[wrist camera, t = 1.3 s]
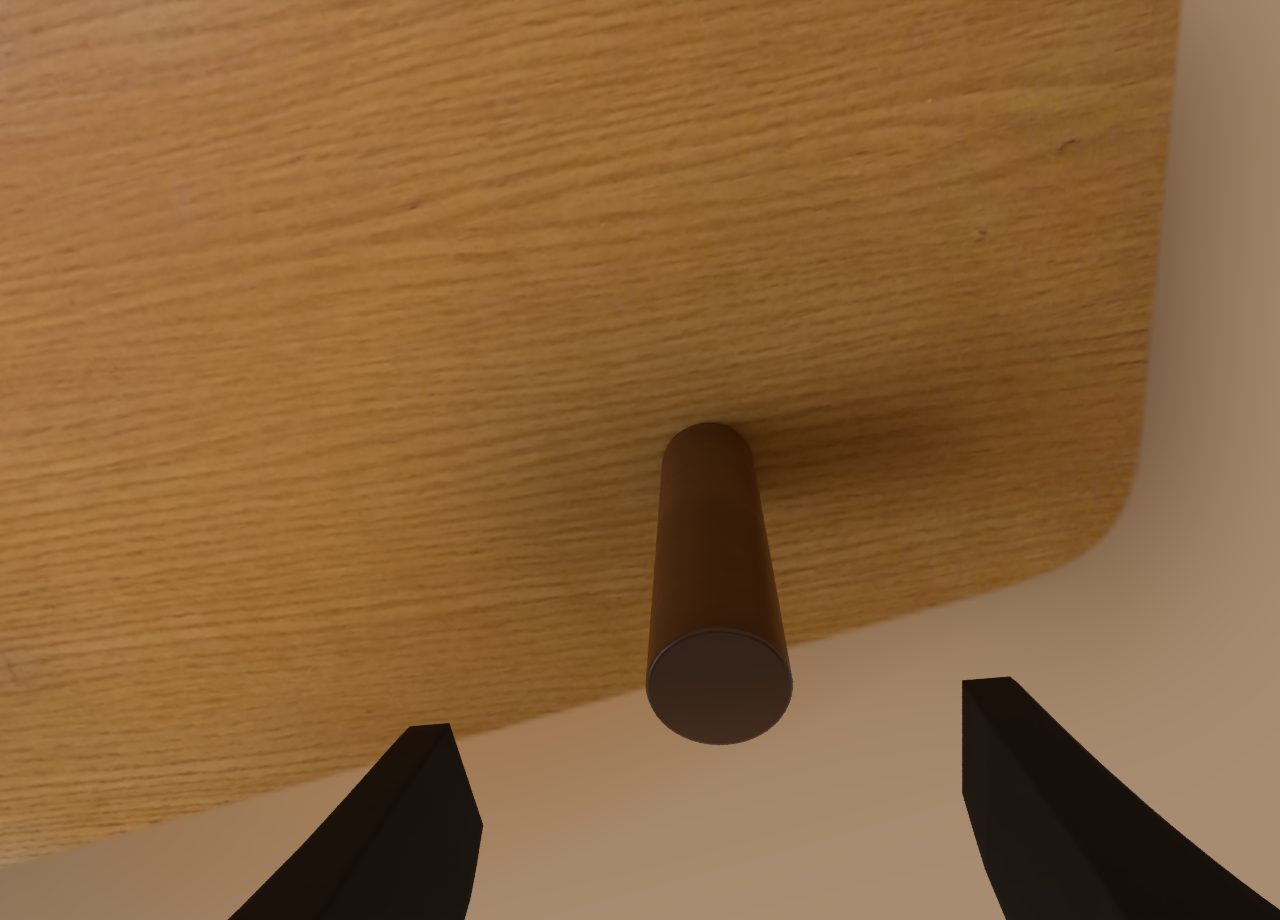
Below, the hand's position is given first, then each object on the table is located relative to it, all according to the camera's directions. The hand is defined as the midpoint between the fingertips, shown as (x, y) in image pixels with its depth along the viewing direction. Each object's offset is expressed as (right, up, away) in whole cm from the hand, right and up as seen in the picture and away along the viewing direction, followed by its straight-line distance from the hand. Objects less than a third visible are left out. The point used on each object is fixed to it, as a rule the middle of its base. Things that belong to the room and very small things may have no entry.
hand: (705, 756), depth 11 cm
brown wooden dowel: (+1, +4, +10) cm, 11 cm away
